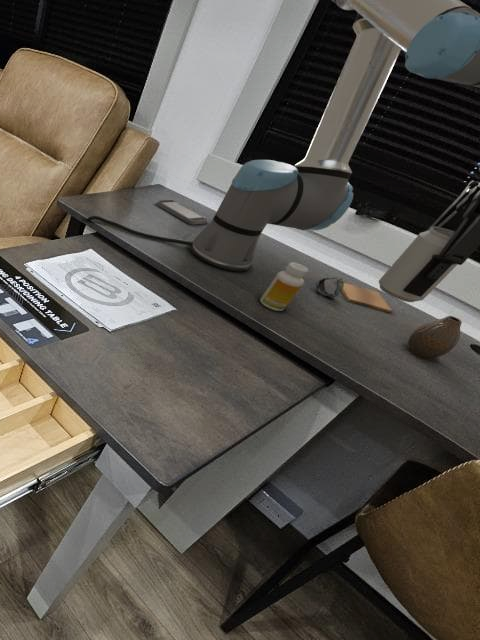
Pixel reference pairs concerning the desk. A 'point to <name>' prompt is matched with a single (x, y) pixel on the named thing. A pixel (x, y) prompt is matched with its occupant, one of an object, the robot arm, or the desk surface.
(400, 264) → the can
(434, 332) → the vase
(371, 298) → the coaster
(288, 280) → the supplement bottle
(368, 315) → the desk surface
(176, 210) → the smartphone
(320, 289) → the wristwatch
